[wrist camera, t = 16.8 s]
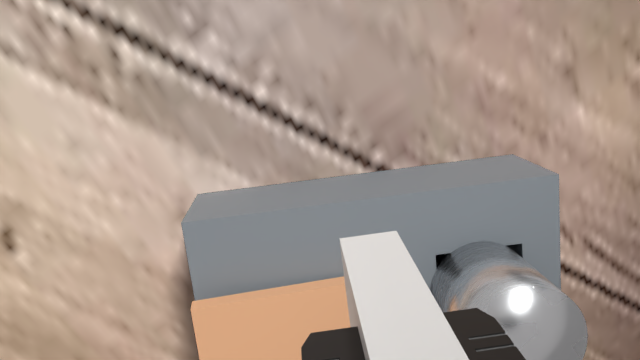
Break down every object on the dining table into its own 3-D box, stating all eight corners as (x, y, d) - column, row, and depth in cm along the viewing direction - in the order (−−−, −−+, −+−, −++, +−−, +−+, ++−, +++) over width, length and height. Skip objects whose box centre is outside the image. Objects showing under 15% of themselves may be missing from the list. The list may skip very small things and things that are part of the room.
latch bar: (389, 268, 30) (394, 275, 29) (395, 336, 31) (400, 345, 30) (192, 301, 29) (190, 309, 28) (204, 370, 30) (203, 380, 29)
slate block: (513, 154, 36) (558, 174, 30) (519, 326, 38) (562, 375, 32) (197, 194, 35) (181, 222, 29) (226, 366, 37) (217, 424, 32)
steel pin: (490, 206, 36) (587, 278, 25) (493, 287, 37) (587, 390, 26) (403, 217, 36) (462, 295, 24) (410, 298, 37) (468, 408, 26)
